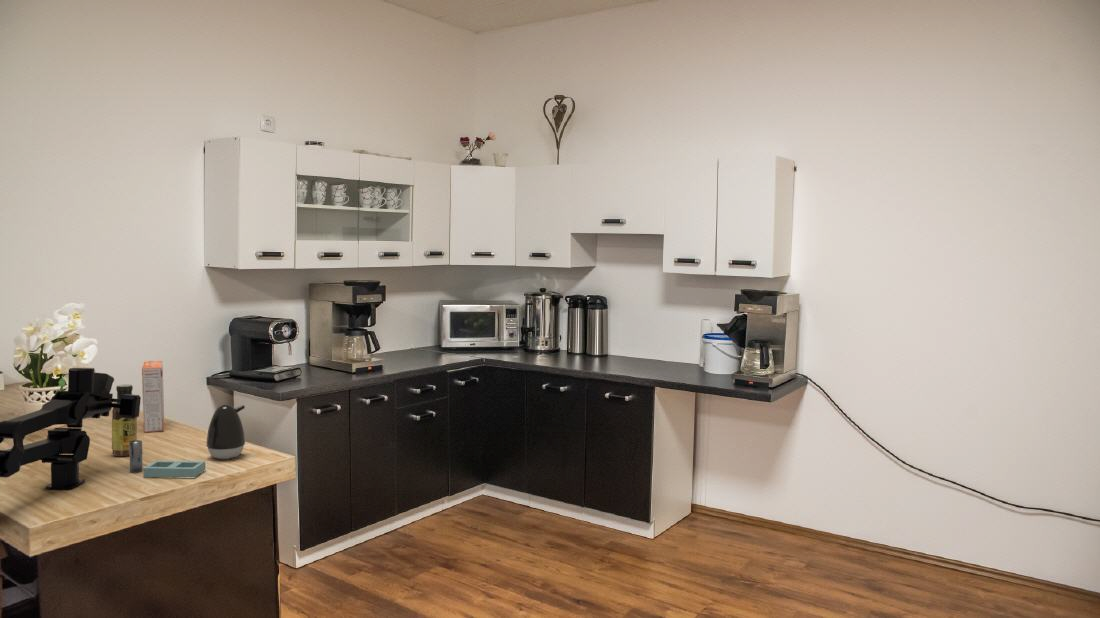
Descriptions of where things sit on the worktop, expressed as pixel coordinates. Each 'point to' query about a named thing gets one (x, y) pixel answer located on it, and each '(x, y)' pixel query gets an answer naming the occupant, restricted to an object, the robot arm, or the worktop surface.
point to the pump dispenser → (226, 432)
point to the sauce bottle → (122, 426)
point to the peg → (135, 456)
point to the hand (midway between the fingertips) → (120, 400)
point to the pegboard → (174, 469)
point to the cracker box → (153, 396)
